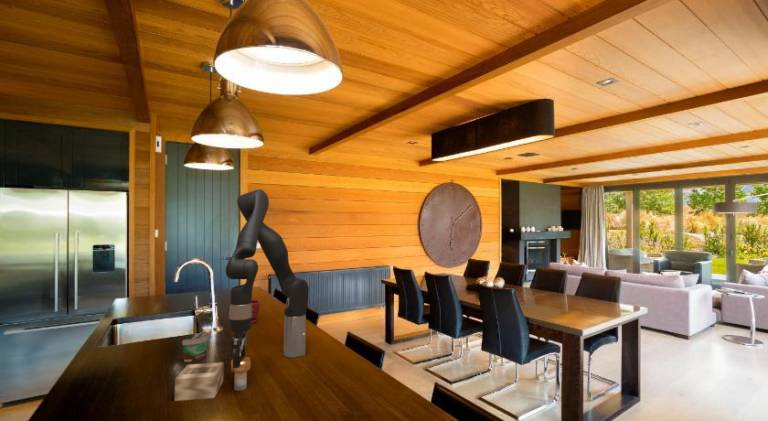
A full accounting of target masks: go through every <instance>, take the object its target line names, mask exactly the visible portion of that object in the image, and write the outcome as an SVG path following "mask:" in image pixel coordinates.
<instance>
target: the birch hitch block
mask: <svg viewBox="0 0 768 421" xmlns="http://www.w3.org/2000/svg"><path fill="white" fill-rule="evenodd" d="M223 382H224V362H209V363H190V364H186V366H185V367H184V368H183V369H182V370H181V372H179V374H178V375H177V376H176V378H175V379H174V402H178V401H180V402H181V401H193V400H205V399H206V400H207V399H215V397H216V396H217V394H218V392H219V390H220V388H221V386H222V385H223Z"/></svg>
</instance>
